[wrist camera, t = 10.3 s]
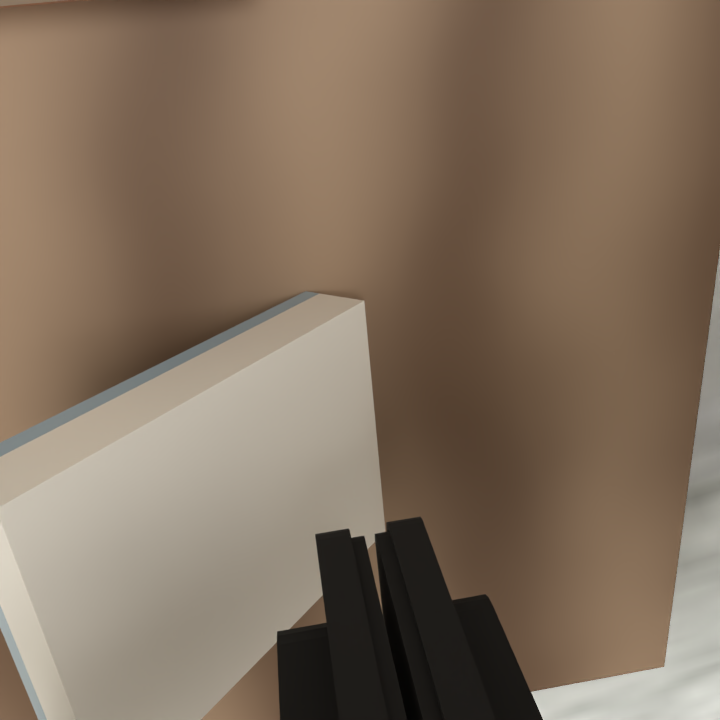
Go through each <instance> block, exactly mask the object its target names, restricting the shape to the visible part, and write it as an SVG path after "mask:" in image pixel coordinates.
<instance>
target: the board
mask: <svg viewBox="0 0 720 720" xmlns="http://www.w3.org/2000/svg"><path fill="white" fill-rule="evenodd" d="M719 250H720V0H87V1H76V2H65V3H54V4H43V5H31V6H20V7H9V8H0V442H2V441H4V440H7V439H9V438H11V437H13V436H15V435H17V434H19V433H21V432H23V431H25V430H27V429H29V428H31V427H33V426H35V425H37V424H39V423H41V422H43V421H45V420H47V419H49V418H51V417H53V416H55V415H57V414H59V413H61V412H63V411H65V410H67V409H69V408H71V407H73V406H75V405H77V404H79V403H81V402H83V401H85V400H87V399H89V398H91V397H93V396H95V395H97V394H99V393H101V392H103V391H105V390H107V389H109V388H111V387H113V386H115V385H117V384H119V383H121V382H123V381H125V380H128V379H130V378H132V377H134V376H136V375H138V374H140V373H142V372H144V371H146V370H148V369H150V368H152V367H154V366H156V365H158V364H160V363H162V362H164V361H166V360H168V359H170V358H172V357H174V356H176V355H178V354H180V353H182V352H184V351H186V350H188V349H190V348H192V347H194V346H196V345H198V344H200V343H202V342H204V341H206V340H208V339H210V338H212V337H214V336H216V335H218V334H220V333H222V332H224V331H226V330H228V329H230V328H232V327H234V326H236V325H238V324H240V323H242V322H244V321H246V320H249V319H251V318H253V317H255V316H257V315H259V314H261V313H263V312H265V311H267V310H269V309H271V308H273V307H275V306H277V305H279V304H281V303H283V302H285V301H287V300H289V299H291V298H293V297H295V296H297V295H299V294H301V293H303V292H305V291H307V292H313V293H320V294H326V295H332V296H338V297H345V298H351V299H357V300H364V303H365V314H366V325H367V336H368V347H369V358H370V369H371V380H372V390H373V401H374V412H375V423H376V434H377V445H378V456H379V467H380V478H381V488H382V499H383V510H384V521H385V532H387V531H386V523H387V522H390V521H396V520H402V519H408V518H414V517H421V518H422V520H423V522H424V525H425V528H426V530H427V533H428V536H429V539H430V541H431V544H432V547H433V550H434V552H435V555H436V558H437V560H438V563H439V566H440V569H441V571H442V574H443V577H444V580H445V582H446V585H447V588H448V591H449V593H450V596H451V599H452V600H455V599H461V598H466V597H472V596H478V595H483V594H486V595H487V596H488V597H489V599H490V601H491V603H492V605H493V607H494V609H495V611H496V614H497V616H498V618H499V620H500V623H501V625H502V627H503V630H504V632H505V634H506V636H507V639H508V641H509V643H510V646H511V648H512V650H513V652H514V655H515V657H516V659H517V662H518V664H519V666H520V668H521V671H522V673H523V675H524V678H525V680H526V682H527V685H528V687H529V689H530V691H537V690H542V689H547V688H553V687H558V686H563V685H569V684H574V683H579V682H585V681H590V680H595V679H601V678H606V677H611V676H617V675H622V674H627V673H633V672H638V671H643V670H649V669H654V668H659V667H664V663H665V655H666V648H667V640H668V633H669V625H670V618H671V610H672V603H673V595H674V588H675V580H676V573H677V565H678V558H679V550H680V543H681V535H682V528H683V520H684V513H685V505H686V498H687V490H688V483H689V475H690V468H691V460H692V453H693V445H694V437H695V430H696V422H697V415H698V407H699V400H700V392H701V385H702V377H703V370H704V362H705V355H706V347H707V340H708V332H709V325H710V317H711V310H712V302H713V295H714V287H715V280H716V272H717V265H718V257H719ZM368 554H369V558H370V562H371V566H372V571H373V575H374V579H375V584H376V588H377V592H378V597H379V601H380V605H381V609H382V603H381V593H380V584H379V574H378V565H377V555H376V546H375V542H374V543H373V544H372V545H371V546H370V547H369V548H368ZM382 614H383V612H382ZM321 623H326V615H325V608H324V600H323V595H322V596H321V597H320V598H319V599H318V600H317V601H316V602H315V604H314V605H313V606H312V607H311V608H310V609H309V610H308V611H307V612H306V613H305V614H304V615H303V616H302V617H301V618H300V619H299V620H298V621H297V622H296V623H295V624H294V625H293V626H292V627H291V628H290V629H293V628H299V627H305V626H310V625H316V624H321ZM0 720H38V718H37V715H36V713H35V711H34V708H33V706H32V703H31V701H30V698H29V696H28V694H27V691H26V689H25V686H24V684H23V682H22V679H21V677H20V674H19V672H18V670H17V667H16V665H15V662H14V660H13V657H12V655H11V653H10V650H9V648H8V645H7V643H6V641H5V638H4V636H3V633H2V631H1V629H0ZM201 720H280V709H279V684H278V660H277V642H276V643H275V644H274V645H273V646H272V647H271V649H270V650H269V651H268V652H267V653H266V654H265V655H264V656H263V657H262V658H261V659H260V660H259V661H258V662H257V663H256V664H255V665H254V666H253V667H252V668H251V669H250V670H249V671H248V672H247V673H246V674H245V675H244V676H243V677H242V678H241V679H240V680H239V681H238V682H237V683H236V684H235V685H234V686H233V687H232V688H231V689H230V690H229V691H228V692H227V694H226V695H225V696H224V697H223V698H222V699H221V700H220V701H219V702H218V703H217V704H216V705H215V706H214V707H213V708H212V709H211V710H210V711H209V712H208V713H207V714H206V715H205V716H204V717H203V718H202V719H201Z"/></svg>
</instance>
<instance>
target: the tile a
mask: <svg viewBox="0 0 720 720" xmlns="http://www.w3.org/2000/svg"><path fill="white" fill-rule="evenodd" d="M76 1H87V0H0V8H9V7H20V6H31V5H43V4H54V3H65V2H76Z"/></svg>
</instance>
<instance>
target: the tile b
mask: <svg viewBox="0 0 720 720" xmlns="http://www.w3.org/2000/svg"><path fill="white" fill-rule="evenodd" d="M348 528H349V530H350V534H351V538H352V537H358V536H364V537H365V541H366V545H367V549H368V548H369V547H370V546H371V545H372V544H373V543H374V542H375V534H376V533H382V532H385V521H384V510H383V499H382V488H381V478H380V467H379V456H378V445H377V434H376V423H375V412H374V401H373V390H372V380H371V369H370V358H369V347H368V336H367V325H366V314H365V303H364V300H357V299H351V298H345V297H338V296H332V295H326V294H320V293H313V292H307V291H305V292H303V293H301V294H299V295H297V296H295V297H293V298H291V299H289V300H287V301H285V302H283V303H281V304H279V305H277V306H275V307H273V308H271V309H269V310H267V311H265V312H263V313H261V314H259V315H257V316H255V317H253V318H251V319H249V320H246V321H244V322H242V323H240V324H238V325H236V326H234V327H232V328H230V329H228V330H226V331H224V332H222V333H220V334H218V335H216V336H214V337H212V338H210V339H208V340H206V341H204V342H202V343H200V344H198V345H196V346H194V347H192V348H190V349H188V350H186V351H184V352H182V353H180V354H178V355H176V356H174V357H172V358H170V359H168V360H166V361H164V362H162V363H160V364H158V365H156V366H154V367H152V368H150V369H148V370H146V371H144V372H142V373H140V374H138V375H136V376H134V377H132V378H130V379H128V380H125V381H123V382H121V383H119V384H117V385H115V386H113V387H111V388H109V389H107V390H105V391H103V392H101V393H99V394H97V395H95V396H93V397H91V398H89V399H87V400H85V401H83V402H81V403H79V404H77V405H75V406H73V407H71V408H69V409H67V410H65V411H63V412H61V413H59V414H57V415H55V416H53V417H51V418H49V419H47V420H45V421H43V422H41V423H39V424H37V425H35V426H33V427H31V428H29V429H27V430H25V431H23V432H21V433H19V434H17V435H15V436H13V437H11V438H9V439H7V440H4V441H2V442H0V629H1V631H2V633H3V636H4V638H5V641H6V643H7V645H8V648H9V650H10V653H11V655H12V657H13V660H14V662H15V665H16V667H17V670H18V672H19V674H20V677H21V679H22V682H23V684H24V686H25V689H26V691H27V694H28V696H29V698H30V701H31V703H32V706H33V708H34V711H35V713H36V715H37V718H38V720H201V719H202V718H203V717H204V716H205V715H206V714H207V713H208V712H209V711H210V710H211V709H212V708H213V707H214V706H215V705H216V704H217V703H218V702H219V701H220V700H221V699H222V698H223V697H224V696H225V695H226V694H227V692H228V691H229V690H230V689H231V688H232V687H233V686H234V685H235V684H236V683H237V682H238V681H239V680H240V679H241V678H242V677H243V676H244V675H245V674H246V673H247V672H248V671H249V670H250V669H251V668H252V667H253V666H254V665H255V664H256V663H257V662H258V661H259V660H260V659H261V658H262V657H263V656H264V655H265V654H266V653H267V652H268V651H269V650H270V649H271V647H272V646H273V645H274V644H275V643H276V642H277V631H282V630H288V629H290V628H291V627H292V626H293V625H294V624H295V623H296V622H297V621H298V620H299V619H300V618H301V617H302V616H303V615H304V614H305V613H306V612H307V611H308V610H309V609H310V608H311V607H312V606H313V605H314V604H315V602H316V601H317V600H318V599H319V598H320V597H321V596H322V595H323V592H322V584H321V577H320V569H319V561H318V554H317V546H316V538H315V534H319V533H325V532H330V531H336V530H342V529H348Z"/></svg>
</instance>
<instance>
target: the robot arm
mask: <svg viewBox="0 0 720 720" xmlns="http://www.w3.org/2000/svg"><path fill="white" fill-rule="evenodd" d="M386 531H387V532H382V533H376V534H375V546H376V555H377V565H378V574H379V584H380V593H381V603H382V609H381V605H380V601H379V597H378V592H377V588H376V584H375V579H374V575H373V571H372V566H371V562H370V558H369V554H368V549H367V545H366V541H365V537H364V536H358V537H352V538H351V534H350V530H349V528H348V529H342V530H336V531H330V532H325V533H319V534H315V538H316V546H317V554H318V561H319V569H320V577H321V584H322V592H323V600H324V608H325V615H326V623H321V624H316V625H310V626H305V627H299V628H293V629H288V630H282V631H277V660H278V684H279V709H280V720H543V719H542V717H541V714H540V712H539V710H538V707H537V705H536V703H535V701H534V698H533V696H532V694H531V691H530V689H529V687H528V685H527V682H526V680H525V678H524V675H523V673H522V671H521V668H520V666H519V664H518V662H517V659H516V657H515V655H514V652H513V650H512V648H511V646H510V643H509V641H508V639H507V636H506V634H505V632H504V630H503V627H502V625H501V623H500V620H499V618H498V616H497V614H496V611H495V609H494V607H493V605H492V603H491V601H490V599H489V597H488V596H487V595H486V594H483V595H478V596H472V597H466V598H461V599H455V600H452V599H451V596H450V593H449V591H448V588H447V585H446V582H445V580H444V577H443V574H442V571H441V569H440V566H439V563H438V560H437V558H436V555H435V552H434V550H433V547H432V544H431V541H430V539H429V536H428V533H427V530H426V528H425V525H424V522H423V520H422V518H421V517H414V518H408V519H402V520H396V521H390V522H387V523H386ZM382 612H383V614H382Z"/></svg>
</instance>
